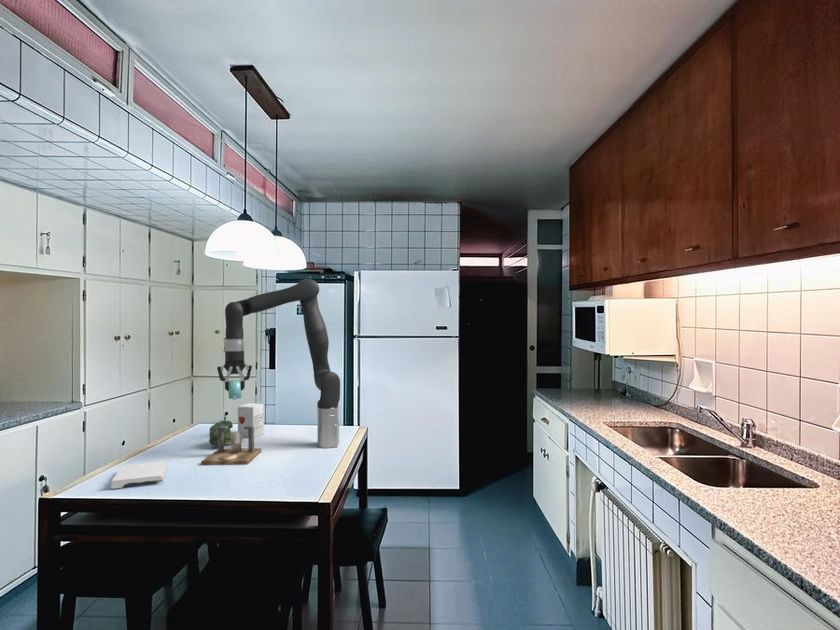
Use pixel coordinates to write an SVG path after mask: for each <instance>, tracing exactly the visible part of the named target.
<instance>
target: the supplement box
mask: <svg viewBox="0 0 840 630" xmlns="http://www.w3.org/2000/svg"><path fill="white" fill-rule="evenodd" d="M264 406H265V404H264V403H255V402H254V403H250V402H248V403H245V404H240V405H237V432H241V436H243V438H247V439H248V429H244V427H245V426H254V438H257V437H259V436H261V435H263V434H264V431H265V429H264V426H265V425H264V423H265V422H264V419H265V418H264V417H265V415H264V413H265V412H264V410H265V409H264ZM264 435H265V434H264Z"/></svg>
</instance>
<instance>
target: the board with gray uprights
mask: <svg viewBox="0 0 840 630" xmlns="http://www.w3.org/2000/svg"><path fill="white" fill-rule="evenodd" d="M224 429H228V426H220V427H218V447H217V450H215V451H214V452H213V453H211V454H210V455H208V456H206V457H205V458H204V459H203V460H201V462H200V465H201V466H232V465H233V466H234V465H235V466H240V465H241V466H245V465H249V464H250V463H251V462H252V461H254V459H255V458H257V457H258V456H259V455H260V454H261V453H262V447H257V448H255V437H254V426H245V427H244V429H248V438H247V439H248V440H247V441H248V442H247V447H248V448H242V442H241V432H238V431H231V432H232V433H231V442H230V448H225V444H224Z"/></svg>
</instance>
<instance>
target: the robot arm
mask: <svg viewBox="0 0 840 630" xmlns="http://www.w3.org/2000/svg"><path fill="white" fill-rule="evenodd" d="M319 293H320V286H319V284H318V283H317V281H316V280H313V279H311V278H305V279H301V280H300V281H299V282H298V283H297V284H295V285H292V286H289V287H286V288H282V289H278V290H274V291H269V292H264V293H261V294H257V295H253V296H251V297H248V298H246V299H242V300H236V301H230V302H229V303H227V305H226V306H225V310H224V315H225V316H224V317H225V343H224V364H223V365H219V366H217V367H216V369H217V373H218V377H219V380H220V381H221V382H224V390H225V391H226V392H229V383H228V381H230V380H229V379H230V378H231V375H239V378H240V380H241V391H244V389H245V386H246V381H247V380H249V379H250V378H251V377H250V376H251V374H252V373H251V372H252V368H253V365H249V364H246V362H245V341H244V325H243V324H244V323H243V322H244V317H245V316H248V315H251V314H254V313H261V312H263V311H267V310H271V309H273V308H276V307H279V306H280V307H281V306H282V305H285V304H289V303H293V302H299V303H300V307H301V311H302V314H303V315H302V316H303V325H304V330H305V336H306V340H307V345H308V349H309V350H308V351H309V353H310V358H311V362H312V367H313V368H312V369H313V381H314V385H315V387H316V388H317V389H318V390H319V391H320V394H319V395H320V398H319V400H317V403H316V404H317V408H316V409H317V412H316V413H317V415H316V416H317V418H316V419H317V421H316V422H317V430H316V431H317V447H318V448H324V449H328V448H337V447H338V446H339V445H340V421H339V403H340V399H341V379H340V376H339V374H337V373H335V372H333V371H332V370H331V369H330V368H331V367H330V365H329V364H330V363H329V360H328V352H329V346H330V345H329V344H330V343H329V342H330V340H329V337H328V329H327V327H326V324H325V321H324V318H323V316H322V314H321V311H320V308H319V300H318V295H319ZM224 369H225V371H227V373H226V376H225V377H224V374H223V371H224ZM244 369H246V371H247V372H246V376H244V373H243V371H244Z"/></svg>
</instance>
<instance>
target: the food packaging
mask: <svg viewBox="0 0 840 630" xmlns="http://www.w3.org/2000/svg"><path fill="white" fill-rule="evenodd" d="M167 471H168V461H159V462H148V463H139V464H128V465H122V466H121V467H120V468H119V470H118V472H116V474H115V476H114V477H113V478H112V480H111V481H110V484H111V487H110V488H111V489H123V488H124V487H125V486H132V485H133V484H134V485H133V486H135V484H136V485H141V484H143V483H145V484H149V482H150V483H157V482H160V481H162V480H164V478H163V477H165V475H166V472H167Z"/></svg>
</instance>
